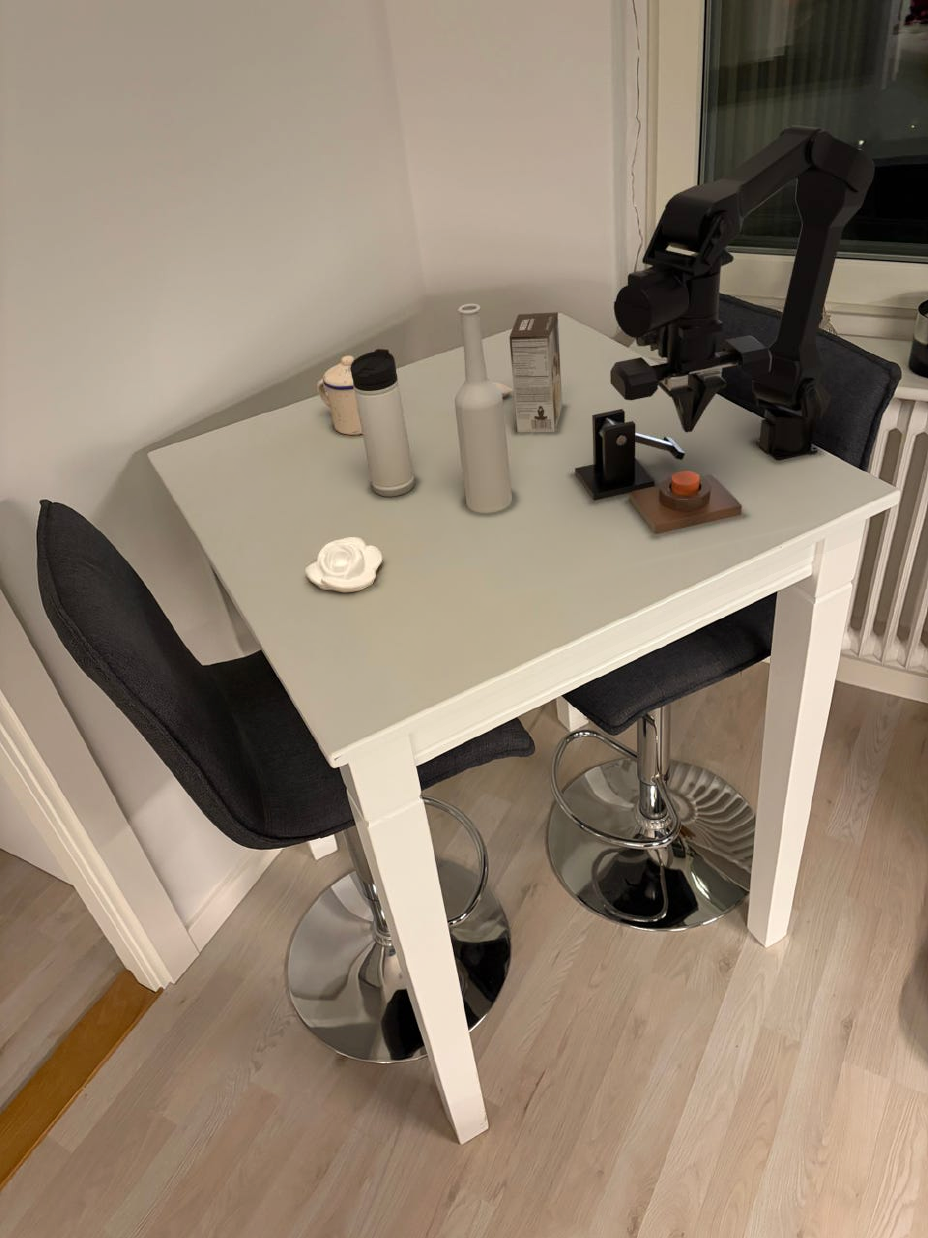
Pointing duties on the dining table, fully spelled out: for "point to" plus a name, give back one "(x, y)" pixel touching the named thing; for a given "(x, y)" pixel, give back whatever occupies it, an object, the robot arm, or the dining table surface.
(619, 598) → the dining table surface
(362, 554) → the rose
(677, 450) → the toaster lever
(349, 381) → the teacup with lid
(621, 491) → the lever bracket
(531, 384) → the coffee box
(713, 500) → the button block
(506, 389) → the macaroon
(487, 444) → the bottle
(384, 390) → the travel mug
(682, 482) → the button
